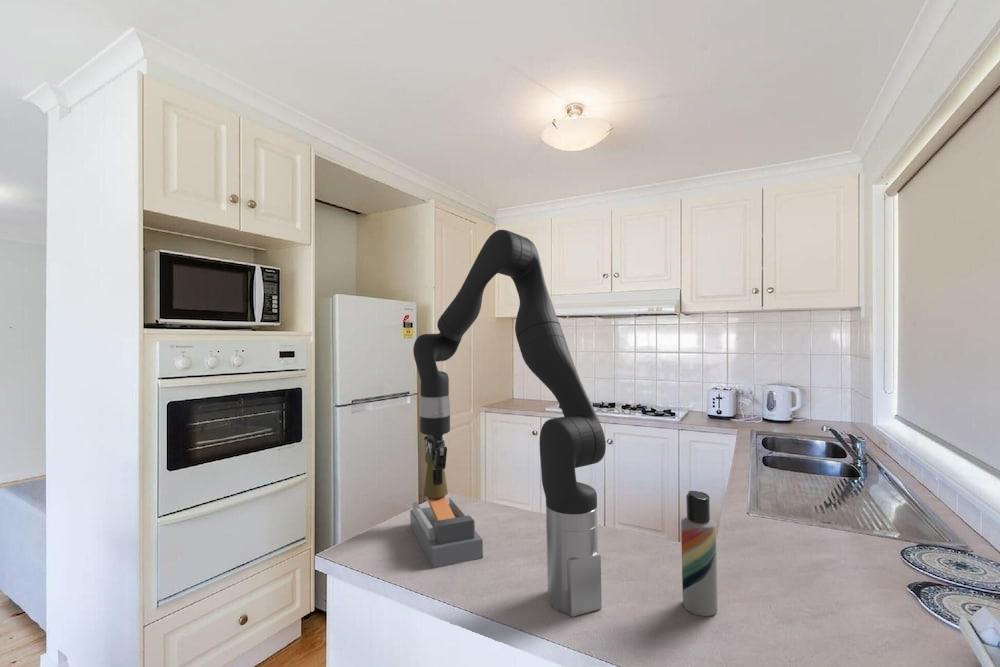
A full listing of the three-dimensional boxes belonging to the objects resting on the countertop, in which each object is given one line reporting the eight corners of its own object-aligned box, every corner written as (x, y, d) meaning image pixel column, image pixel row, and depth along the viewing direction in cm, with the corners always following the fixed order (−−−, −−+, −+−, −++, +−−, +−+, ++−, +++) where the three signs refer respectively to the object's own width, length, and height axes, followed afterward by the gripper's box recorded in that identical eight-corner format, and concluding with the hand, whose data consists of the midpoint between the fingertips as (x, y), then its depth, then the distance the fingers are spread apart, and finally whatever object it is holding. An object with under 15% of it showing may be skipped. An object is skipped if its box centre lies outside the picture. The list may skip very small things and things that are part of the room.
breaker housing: (482, 557, 102) (482, 521, 102) (433, 568, 98) (432, 529, 98) (452, 518, 124) (451, 488, 124) (410, 525, 120) (410, 494, 120)
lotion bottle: (688, 594, 86) (686, 485, 86) (722, 605, 83) (719, 491, 83) (678, 609, 82) (675, 494, 82) (712, 621, 78) (710, 501, 78)
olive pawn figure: (446, 498, 115) (445, 453, 115) (421, 498, 115) (420, 453, 115) (449, 489, 121) (448, 446, 121) (426, 489, 121) (425, 446, 121)
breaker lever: (460, 532, 105) (460, 527, 105) (443, 535, 104) (443, 530, 104) (440, 494, 121) (441, 489, 121) (425, 496, 119) (425, 492, 119)
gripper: (457, 417, 112) (458, 488, 113) (442, 407, 125) (442, 471, 126) (426, 420, 110) (427, 493, 110) (414, 409, 123) (414, 474, 123)
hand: (435, 481), depth 118 cm, fingers closed on olive pawn figure, 4 cm apart
